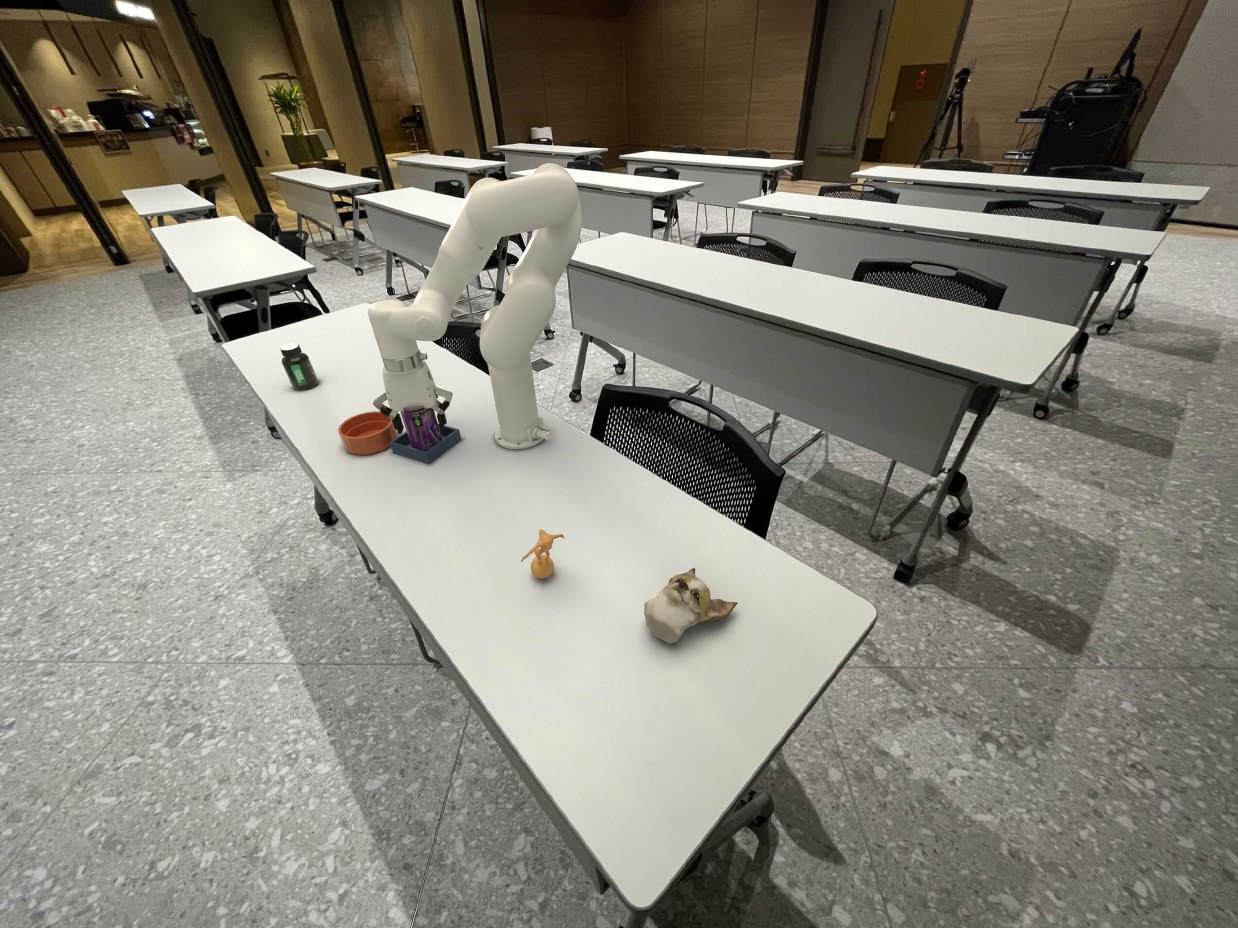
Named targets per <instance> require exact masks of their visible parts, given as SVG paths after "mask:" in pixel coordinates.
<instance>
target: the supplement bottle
mask: <svg viewBox="0 0 1238 928" xmlns="http://www.w3.org/2000/svg"><path fill="white" fill-rule="evenodd" d="M279 350H280V352H281V355H282V358H281V365H282V367H283V369H284V371H285V373H286V376H287V378H288V380H289V383H290V384H291V387H292V388H293V389H294V390H295V391H307V390H311V389H313V388H315V387H317V386H318V384H319V379H318V376H317V374H316V372H315V368H314V367H313V364H312V362H311V360H310V357H309V356H308V354H306V353H305V352H303V349H302V348H301V346H300V344H298V343H290V344H286V345H283V346H281V347H280V349H279Z"/></svg>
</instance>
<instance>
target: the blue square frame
mask: <svg viewBox="0 0 1238 928" xmlns="http://www.w3.org/2000/svg"><path fill="white" fill-rule="evenodd" d="M438 426H439V423H438ZM439 430H440V433H441V437H444V438H442V440H441V441H440V442H439V443H437V444H436V445H435V446H433V447H432V448H431V449H429V450H428V451H427V452H425V451H421V450H418V449H415V448H412V447H411V446H408V445H410V444H411V443H410V440H409V437H408V434H407V431H406V430H405V431H404V432H402V433H401V434H399V435H398V437H397V438H396V439H394V440H393V441H391V442H390V445H391V446H390V448H391V451H392V454H395V455H398V456H401V457H404V458H408V459H411V460H414V461H417V462H420V463H424V464H427V465H430V464H432V463H433V462H435V461H436V460H437V459H439V458H440V457H441V456H443V455H444V454H445V453H446V452H448V451H449V450H450V449H451V448H453V447H454V446H456V444H458V443H459V442H460V441H462V435H461V432H460V428H456V427H452V426H449V425H445V426H444V430H441V429H440V426H439Z"/></svg>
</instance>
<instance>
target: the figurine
mask: <svg viewBox="0 0 1238 928" xmlns="http://www.w3.org/2000/svg"><path fill="white" fill-rule="evenodd" d="M538 536H539V539H538V540H537V542H536V544H535V545H534V546H533V547H531V549H530V550H529V551H528V552H527V553H526V554H525V555H524V556H523V557H522V558H521V560H520V562H521V563H523V562H524V560H525V559H527V558H528V557H530V555H531V554H535V557H534V558H533V559H532V561H531V563H530V571H531V572H530V573H531V574H532V576H533V577H535V578H537V579H539V580H540V579H541V580H544V579H547V578H549V577H550V576H551V575H553V573H554V570H555V564H554V561H553V559H552V558H551V557H550V556H551V555H550V554H551V553H550V550H551V549H553V544H554V540H556V539H560V538H561V539H564V540H565V535H564V534H563V533H556V534H549V533H547V532H546V531H545V530H544V529H541V528H540V529H539V531H538ZM543 553H545V554H543Z"/></svg>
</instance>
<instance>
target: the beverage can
mask: <svg viewBox="0 0 1238 928" xmlns="http://www.w3.org/2000/svg"><path fill="white" fill-rule="evenodd" d="M403 409H404V411H400V417H401V420H402V423H403V426H404V428H405V432H406V431H407V434H408V437H409V440H410V443H409V444H410V447H412V448H415V449H418V450H421V451H425V452H427V451H428V450H429V449H431V448H432V447H433V446H435V445H436V444H437V443H439V442H440V441H441V440H443V436H442V435H441V433H440V430H439V426H438V424H439V422H438V419H437V414H436V411H435V410H433V409H432V408H424V406H420V407H417V408H403Z"/></svg>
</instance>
